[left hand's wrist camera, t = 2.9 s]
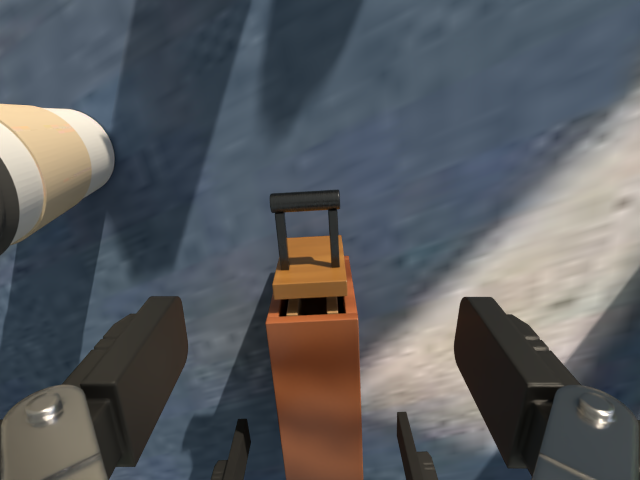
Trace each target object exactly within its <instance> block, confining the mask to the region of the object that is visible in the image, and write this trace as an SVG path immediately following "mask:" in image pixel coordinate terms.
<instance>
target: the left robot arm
mask: <svg viewBox="0 0 640 480" xmlns="http://www.w3.org/2000/svg"><path fill="white" fill-rule="evenodd" d="M187 354H188V340H187V333H186V327H185V320H184V313H183V306H182V302H181V299H180V297H178V296H151V297H150V298H149V299H148V300H147V301H146V302H145V303H144V305H143V306H142V307H141V308H140V310H139V311H138V312H137V313H136V314H129V315H128V316H126V317H125V318H123V319H121V320H120V321H118V322H117V323H115V324H114V325H113V326H112V327H111V328H110V329H109V331H108V332H107V333H106V334H105V335H104V336H103V339H101V340H100V341H99V342H98V343H97V344H96V346H95V347H94V350H91V351H90V352H89V354H88V355H87V356H86V357H85V358H84V359H83V361H82V362H81V363H80V364H79V365H78V366H77V367H76V369H75V370H74V371H73V372H72V373H71V374H70V376H69V377H68V378H67V379H66V380H65V381H64V382H63V384H62V385H58V386H53V387H48V388H45V389H42V390H40V391H37V392H35V393H33V394H31V395H29V396H27V397H26V398H24V399H22V400H21V401H20V402H18V403H17V404H16V405H15V406H13V407H12V408H11V409H10V410H9V411H8V413H7V414H6V415H5V417H4V419H3V420H0V480H109V478H110V477H111V475H112V473H113V471H114V469H115V467H135V466H136V464H137V462H138V460H139V458H140V456H141V454H142V452H143V450H144V448H145V446H146V444H147V441H148V439H149V437H150V435H151V433H152V431H153V429H154V427H155V425H156V423H157V421H158V419H159V417H160V415H161V413H162V411H163V409H164V407H165V404H166V402H167V400H168V398H169V396H170V394H171V392H172V390H173V388H174V386H175V384H176V382H177V380H178V378H179V376H180V374H181V372H182V369H183V367H184V365H185V363H186V359H187ZM454 354H455V360H456V363H457V366H458V368H459V370H460V372H461V374H462V376H463V378H464V380H465V382H466V384H467V386H468V388H469V390H470V392H471V395H472V397H473V399H474V401H475V403H476V405H477V407H478V409H479V411H480V413H481V415H482V417H483V419H484V421H485V423H486V425H487V427H488V429H489V431H490V433H491V435H492V437H493V439H494V441H495V443H496V445H497V447H498V449H499V451H500V453H501V455H502V458H503V460H504V462H505V464H506V466H507V468H528V470H529V472H530V474H531V476H532V479H531V480H640V421H639V420H637V419H636V417H635V415H634V414H633V413H632V411H631V410H630V409H629V408H628V407H627V406H625V405H624V404H623V403H622V402H620V401H619V400H618V399H616V398H614V397H613V396H611V395H609V394H607V393H605V392H603V391H600V390H598V389H595V388H592V387H587V386H582V385H581V384H580V383H579V382H578V381H577V380H576V379H575V378H574V376H573V375H572V374H571V373H570V372H569V371H568V370H567V368H566V367H565V366H564V365H563V364H562V363H561V362H560V360H559V359H558V358H557V357H556V356H555V355H554V354H553V352H552V351H549V348H548V347H547V345H546V344H545V343H544V342H543V341H542V340H540V337H539V336H538V335H537V334H536V333H535V332H534V331H533V329H532V328H531V327H530V326H529V325H528V324H526V323H525V322H523V321H521V320H520V319H518V318H517V317H515V316H513V315H512V314H506V313H505V312H504V311H503V310H502V309H501V307H500V306H499V305H498V304H497V302H496V301H495V300H494V299H493V298H492V297H463V298H462V300H461V303H460V308H459V314H458V321H457V328H456V334H455V341H454Z"/></svg>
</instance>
